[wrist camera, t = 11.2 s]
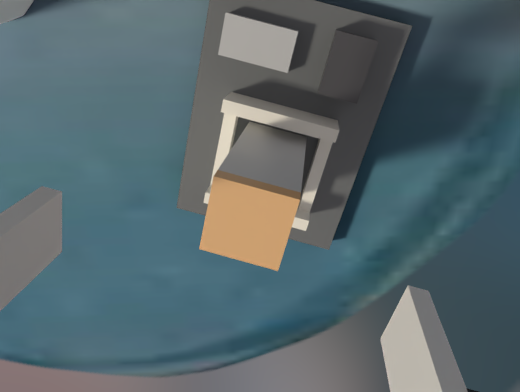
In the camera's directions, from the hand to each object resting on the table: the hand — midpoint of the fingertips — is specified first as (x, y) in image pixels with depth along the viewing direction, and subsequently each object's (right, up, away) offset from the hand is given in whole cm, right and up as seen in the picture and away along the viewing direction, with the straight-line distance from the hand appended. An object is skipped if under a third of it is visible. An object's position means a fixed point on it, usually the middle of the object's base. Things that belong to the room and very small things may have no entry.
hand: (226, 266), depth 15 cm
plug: (+2, +5, +13) cm, 14 cm away
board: (+3, +8, +13) cm, 15 cm away
